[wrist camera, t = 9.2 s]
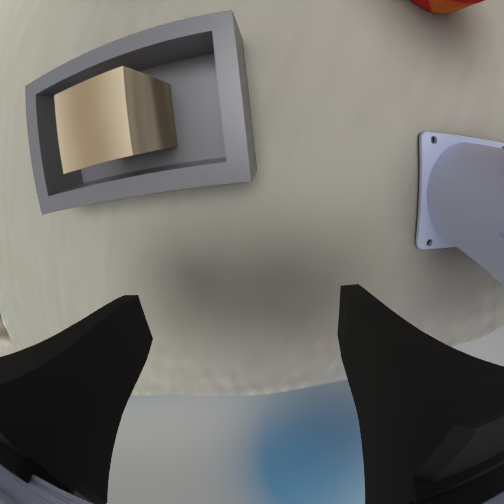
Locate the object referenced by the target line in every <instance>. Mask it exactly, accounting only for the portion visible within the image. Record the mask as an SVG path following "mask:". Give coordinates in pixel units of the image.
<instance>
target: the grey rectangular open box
mask: <svg viewBox="0 0 504 504" xmlns="http://www.w3.org/2000/svg"><path fill="white" fill-rule="evenodd" d="M121 66H125V67H128V68H131V69H133V70H136V71H139V72H141V73H144V74H147V75H149V76H152V77H154V78H157V79H159V80H162V81H164V82H167V83H169V84H171V93H172V102H173V110H174V119H175V127H176V134H177V142H178V147H172V148H167V149H162V150H157V151H152V152H147V153H143V154H138V155H134V156H130V157H125V158H121V159H117V160H113V161H109V162H105V163H101V164H97V165H93V166H90V167H86V168H83V169H79V170H76V171H72V172H69V173H66V174H64V173H63V168H62V162H61V155H60V149H59V141H58V133H57V124H56V114H55V101H54V95H56V94H58V93H60V92H62V91H64V90H66V89H68V88H70V87H72V86H74V85H77V84H79V83H81V82H83V81H86V80H88V79H90V78H93V77H95V76H97V75H100V74H102V73H105V72H108V71H110V70H113V69H115V68H118V67H121ZM25 94H26V116H27V128H28V138H29V147H30V155H31V161H32V168H33V174H34V179H35V185H36V190H37V195H38V199H39V204H40V208H41V212H42V215H43V214H47V213H51V212H56V211H60V210H65V209H69V208H74V207H79V206H84V205H89V204H94V203H99V202H105V201H110V200H116V199H121V198H127V197H133V196H139V195H145V194H152V193H158V192H165V191H172V190H180V189H187V188H195V187H203V186H212V185H221V184H230V183H241V182H251V181H252V179H253V177H254V174H255V172H256V170H257V167H256V157H255V147H254V138H253V129H252V119H251V110H250V101H249V92H248V83H247V75H246V66H245V57H244V49H243V41H242V36H241V33H240V31H239V28H238V25H237V22H236V20H235V17H234V14H233V12H232V10H230V11H224V12H218V13H212V14H207V15H201V16H197V17H192V18H188V19H183V20H179V21H175V22H171V23H168V24H164V25H160V26H157V27H154V28H150V29H147V30H144V31H141V32H138V33H135V34H132V35H129V36H126V37H124V38H121V39H118V40H116V41H113V42H111V43H108V44H106V45H103V46H101V47H98V48H96V49H94V50H92V51H89V52H87V53H85V54H83V55H81V56H79V57H77V58H74V59H72V60H70V61H68V62H67V63H65V64H63V65H61V66H59V67H57V68H55V69H53V70H52V71H50V72H48V73H46V74H45V75H43V76H41V77H39V78H38V79H36V80H34V81H33V82H31V83H30V84H28V85H26V86H25Z"/></svg>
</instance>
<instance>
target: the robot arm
mask: <svg viewBox="0 0 504 504" xmlns="http://www.w3.org/2000/svg"><path fill="white" fill-rule="evenodd" d="M432 136H433V137H434V143H432V142H431V137H432ZM419 154H420V178H419V206H418V221H417V233H416V246H417V247H418V248H419V249H421V250H426V249H438V248H450V247H458V248H459V249H460V250H461V251H463V252H464V253H465V254H466V255H468V256H469V257H470V258H471V259H473V260H474V261H475V262H476V263H477V264H479V265H480V266H481V267H482V268H483V269H484V270H486V271H487V272H488V273H489V274H490V275H491V276H492V277H494V278H495V279H496V280H497V281H498V282H499V283H500V284H501V285H503V286H504V143H501V142H496V141H491V140H485V139H480V138H473V137H467V136H460V135H452V134H444V133H434V132H422V133H421V134H420V136H419ZM429 239H430V242H429V243H428V244H426V243H427V241H428V240H429ZM338 339H339V345H340V351H341V357H342V361H343V364H344V368H345V371H346V375H347V378H348V381H349V385H350V388H351V392H352V395H353V398H354V402H355V406H356V410H357V414H358V419H359V425H360V433H361V440H362V450H363V460H364V475H365V504H504V367H503V366H500V365H496V364H493V363H490V362H487V361H484V360H481V359H478V358H475V357H473V356H470V355H468V354H466V353H463V352H461V351H458V350H456V349H454V348H452V347H450V346H448V345H446V344H444V343H442V342H440V341H438V340H436V339H435V338H433V337H431V336H429V335H427V334H426V333H424V332H422V331H421V330H419V329H418V328H416V327H415V326H413V325H412V324H410V323H409V322H407V321H406V320H404V319H403V318H401V317H400V316H399V315H397V314H396V313H395V312H393V311H392V310H391V309H389V308H388V307H387V306H385V305H384V304H383V303H382V302H380V301H379V300H378V299H377V298H375V297H374V296H373V295H372V294H370V293H369V292H368V291H367V290H365V289H364V288H363V287H361V286H360V285H358V284H356V285H344V286H341V291H340V308H339V323H338ZM152 340H153V338H152V335H151V332H150V329H149V327H148V324H147V321H146V318H145V315H144V312H143V309H142V306H141V303H140V300H139V297H138V295H124V296H122V297H120V298H117V299H116V300H114V301H112V302H110V303H108V304H107V305H105V306H103V307H102V308H100V309H98V310H97V311H95V312H93V313H92V314H90V315H89V316H87V317H85V318H84V319H82V320H81V321H79V322H77V323H75V324H74V325H72V326H70V327H69V328H67V329H65V330H63V331H62V332H60V333H58V334H56V335H54V336H53V337H51V338H49V339H47V340H44V341H42V342H40V343H38V344H36V345H34V346H31V347H28V348H26V349H23V350H21V351H18V352H15V353H13V354H9V355H6V356H3V357H0V504H106V503H107V492H108V478H109V470H110V463H111V457H112V451H113V447H114V443H115V438H116V434H117V431H118V427H119V423H120V420H121V417H122V413H123V411H124V409H125V406H126V404H127V401H128V399H129V397H130V395H131V393H132V390H133V388H134V386H135V384H136V382H137V380H138V378H139V375H140V373H141V371H142V369H143V367H144V364H145V362H146V360H147V357H148V353H149V350H150V347H151V343H152ZM63 490H64V491H63ZM65 491H66V492H65ZM67 492H68V493H67ZM69 493H70V494H69ZM71 494H72V495H71ZM73 495H74V496H73ZM78 497H79V498H78ZM80 498H81V499H80ZM82 499H83V500H82ZM87 501H88V502H87ZM89 502H90V503H89Z"/></svg>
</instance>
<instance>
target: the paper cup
mask: <svg viewBox="0 0 504 504" xmlns="http://www.w3.org/2000/svg"><path fill="white" fill-rule="evenodd" d="M411 1H412V2H414V3H415V4H416V5H418V6H420V7H421V8H423V9H425V10H427V11H430V12H433V13H437V14H447V13H450V12H453V11H456V10H459V9H462V8H465V7H467V6H470V5H473V4H476V3H479V2H482V1H484V0H411Z"/></svg>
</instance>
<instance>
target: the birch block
mask: <svg viewBox="0 0 504 504" xmlns="http://www.w3.org/2000/svg"><path fill="white" fill-rule="evenodd" d="M54 101H55V114H56V124H57V133H58V141H59V149H60V155H61V162H62V168H63V173H64V174H66V173H69V172H72V171H76V170H79V169H83V168H86V167H90V166H93V165H97V164H101V163H105V162H109V161H113V160H117V159H121V158H125V157H130V156H134V155H138V154H143V153H147V152H152V151H157V150H162V149H167V148H172V147H178V142H177V134H176V127H175V119H174V110H173V102H172V93H171V84H169V83H167V82H164V81H162V80H159V79H157V78H154V77H152V76H149V75H147V74H144V73H141V72H139V71H136V70H133V69H131V68H128V67H125V66H121V67H118V68H115V69H113V70H110V71H108V72H105V73H102V74H100V75H97V76H95V77H93V78H90V79H88V80H86V81H83V82H81V83H79V84H77V85H74V86H72V87H70V88H68V89H66V90H64V91H62V92H60V93H58V94H56V95H54Z"/></svg>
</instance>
